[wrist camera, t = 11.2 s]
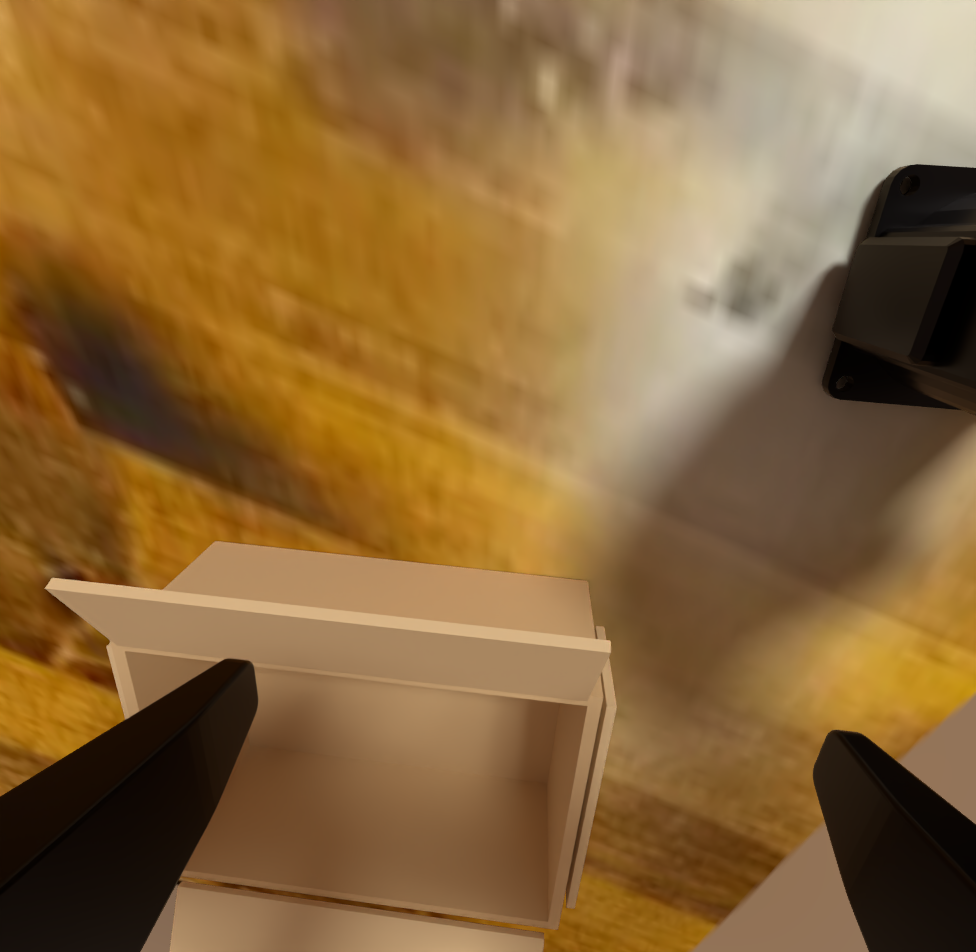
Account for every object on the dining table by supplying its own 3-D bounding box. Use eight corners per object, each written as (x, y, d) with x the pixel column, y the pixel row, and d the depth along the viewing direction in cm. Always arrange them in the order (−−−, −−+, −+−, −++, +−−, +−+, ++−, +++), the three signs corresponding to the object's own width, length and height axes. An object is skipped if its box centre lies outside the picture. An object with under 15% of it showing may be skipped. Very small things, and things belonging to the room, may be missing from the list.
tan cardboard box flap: (587, 701, 16) (587, 690, 16) (611, 652, 13) (610, 640, 13) (117, 645, 17) (122, 636, 17) (44, 588, 14) (52, 577, 14)
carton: (602, 582, 22) (622, 699, 16) (566, 787, 26) (572, 933, 21) (202, 539, 23) (92, 637, 17) (234, 745, 27) (156, 874, 22)
